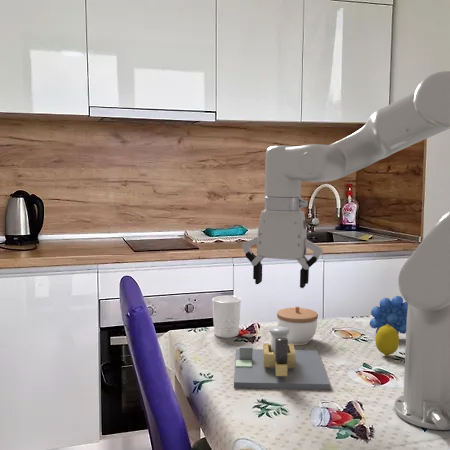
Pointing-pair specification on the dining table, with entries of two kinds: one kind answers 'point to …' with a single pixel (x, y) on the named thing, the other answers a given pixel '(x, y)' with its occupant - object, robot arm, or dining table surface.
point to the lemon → (387, 340)
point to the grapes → (390, 314)
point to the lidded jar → (298, 324)
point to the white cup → (226, 315)
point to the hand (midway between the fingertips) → (280, 284)
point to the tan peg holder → (280, 356)
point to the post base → (265, 376)
